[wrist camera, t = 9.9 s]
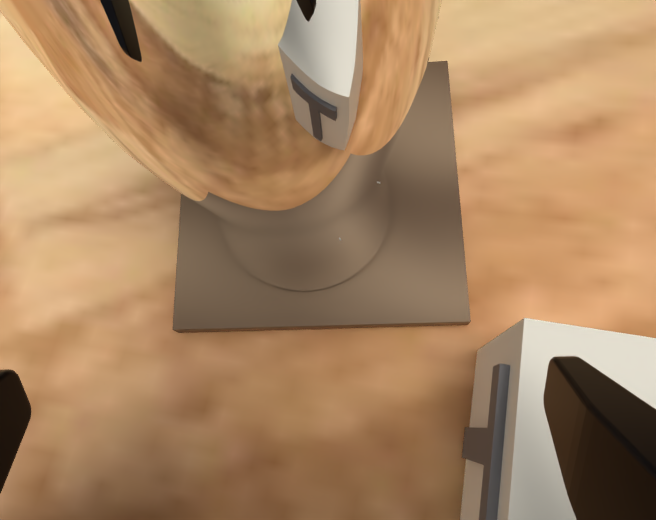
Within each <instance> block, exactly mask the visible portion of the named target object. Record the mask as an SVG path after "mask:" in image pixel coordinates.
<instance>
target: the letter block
mask: <svg viewBox="0 0 656 520" xmlns="http://www.w3.org/2000/svg"><path fill="white" fill-rule="evenodd" d="M555 356H577V357H579V358H581V359H583V360H584V361H586V362H587V363H589V364H590V365H592V366H593V367H595V368H596V369H597V370H599V371H600V372H602V373H603V374H605V375H606V376H608V377H609V378H611V379H612V380H614V381H615V382H617V383H618V384H620V385H621V386H622V387H624V388H625V389H627V390H628V391H630V392H631V393H633V394H634V395H636V396H637V397H639V398H640V399H642V400H643V401H645V402H646V403H647V404H649V405H650V406H652V407H653V408H655V409H656V338H651V337H644V336H638V335H631V334H625V333H618V332H612V331H606V330H599V329H593V328H586V327H580V326H573V325H567V324H560V323H554V322H547V321H541V320H535V319H528V318H524V319H522V320H521V321H519V322H518V323H516V324H515V325H513V326H512V327H510V328H509V329H508V330H506V331H505V332H503V333H502V334H500V335H499V336H497V337H496V338H494V339H493V340H492V341H490V342H489V343H487V344H486V345H484V346H483V347H481V348H480V349H478V350H477V357H476V367H475V377H474V387H473V397H472V406H471V416H470V426H469V427H465V433H464V442H463V452H462V458H465V459H466V465H465V475H464V485H463V494H462V504H461V514H460V520H577V519H576V517H575V514H574V512H573V509H572V506H571V503H570V501H569V498H568V495H567V491H566V488H565V485H564V481H563V477H562V473H561V470H560V466H559V462H558V458H557V455H556V451H555V447H554V443H553V440H552V436H551V432H550V428H549V425H548V421H547V417H546V413H545V409H544V401H543V397H544V389H545V383H546V377H547V370H548V365H549V362H550V360H551V359H552V358H553V357H555Z"/></svg>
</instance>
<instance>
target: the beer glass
mask: <svg viewBox="0 0 656 520" xmlns="http://www.w3.org/2000/svg"><path fill="white" fill-rule="evenodd" d="M441 2H442V0H0V12H1V13H2V14H3V15H4V17H5V18H6V19H7V21H8V22H9V23H10V25H11V26H12V27H13V29H14V30H15V31H16V33H17V34H18V35H19V36H20V38H21V39H22V40H23V42H24V43H25V44H26V45H27V47H28V48H29V49H30V50H31V51H32V52H33V54H34V55H35V56H36V57H37V58H38V60H39V61H40V62H41V63H42V64H43V66H44V67H45V68H46V69H47V70H48V71H49V73H50V74H51V75H52V76H53V77H54V79H55V80H56V81H57V82H58V83H59V85H60V86H61V87H62V88H63V89H64V91H65V92H66V93H67V94H68V95H69V96H70V98H71V99H72V100H73V101H74V102H75V103H76V104H77V105H78V106H79V107H80V108H81V109H82V110H83V111H84V112H85V113H86V114H87V115H88V116H89V117H90V118H91V119H92V120H93V121H94V122H95V123H96V124H97V125H98V126H99V127H100V128H101V129H102V130H103V131H104V132H105V133H106V134H107V135H108V136H109V137H110V138H111V139H112V140H113V141H114V142H115V143H116V144H117V145H118V146H119V147H120V148H121V149H122V150H123V151H124V152H126V153H127V154H128V155H129V156H131V157H132V158H133V159H135V160H136V161H137V162H138V163H140V164H141V165H142V166H144V167H145V168H146V169H148V170H149V171H150V172H151V173H153V174H154V175H155V176H157V177H158V178H159V179H161V180H162V181H163V182H165V183H166V184H167V185H169V186H170V187H172V188H174V189H175V190H177V191H178V192H180V193H181V194H183V195H185V196H186V197H188V198H189V199H191V200H192V201H194V202H196V203H197V204H199V205H200V206H202V207H204V208H205V209H207V210H209V211H210V212H212V213H214V214H215V215H217V216H218V220H219V224H220V228H221V231H222V234H223V237H224V240H225V242H226V244H227V246H228V248H229V250H230V251H231V253H232V255H233V256H234V257H235V259H236V260H237V261H238V263H239V264H240V265H241V266H242V267H243V268H244V269H245V270H246V271H248V272H249V273H250V274H252V275H253V276H254V277H256V278H257V279H259V280H261V281H263V282H265V283H267V284H270V285H272V286H275V287H278V288H282V289H287V290H294V291H312V290H319V289H324V288H328V287H331V286H334V285H337V284H339V283H341V282H344V281H345V280H347V279H349V278H351V277H352V276H354V275H355V274H357V273H358V272H359V271H361V270H362V269H363V268H364V267H365V266H366V265H367V264H368V263H369V262H370V261H371V260H372V259H373V257H374V256H375V255H376V254H377V252H378V251H379V249H380V247H381V246H382V244H383V242H384V240H385V238H386V235H387V233H388V229H389V226H390V221H391V212H392V205H391V195H390V189H389V184H388V181H387V178H386V174H385V172H384V169H383V168H384V166H385V164H386V162H387V160H388V158H389V156H390V154H391V152H392V150H393V148H394V146H395V144H396V142H397V140H398V138H399V136H400V133H401V131H402V129H403V127H404V125H405V123H406V121H407V118H408V116H409V114H410V111H411V108H412V106H413V103H414V100H415V97H416V95H417V92H418V89H419V86H420V84H421V81H422V78H423V75H424V73H425V70H426V67H427V64H428V61H429V57H430V53H431V48H432V43H433V39H434V34H435V30H436V25H437V21H438V16H439V11H440V7H441Z"/></svg>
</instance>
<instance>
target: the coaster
mask: <svg viewBox="0 0 656 520" xmlns="http://www.w3.org/2000/svg"><path fill="white" fill-rule="evenodd" d="M383 169H384V172H385V174H386V178H387V181H388V184H389V189H390V195H391V205H392V212H391V221H390V226H389V229H388V233H387V235H386V238H385V240H384V242H383V244H382V246H381V247H380V249H379V251H378V252H377V254H376V255H375V256H374V257H373V259H372V260H371V261H370V262H369V263H368V264H367V265H366V266H365V267H364V268H363V269H362V270H361V271H359V272H358V273H357V274H355V275H354V276H352V277H351V278H349V279H347V280H345V281H344V282H341V283H339V284H337V285H334V286H331V287H328V288H324V289H319V290H312V291H294V290H287V289H282V288H278V287H275V286H272V285H270V284H267V283H265V282H263V281H261V280H259V279H257V278H256V277H254V276H253V275H252V274H250V273H249V272H248V271H246V270H245V269H244V268H243V267H242V266H241V265H240V264H239V263H238V261H237V260H236V259H235V257H234V256H233V255H232V253H231V251H230V250H229V248H228V246H227V244H226V242H225V240H224V237H223V234H222V231H221V228H220V224H219V220H218V216H217V215H215V214H214V213H212V212H210V211H209V210H207V209H205V208H204V207H202V206H200V205H199V204H197V203H196V202H194V201H192V200H191V199H189V198H188V197H186V196H185V195H183V194H181V207H180V223H179V238H178V254H177V269H176V285H175V300H174V316H173V330H174V331H176V332H214V331H251V330H288V329H325V328H362V327H399V326H436V325H468V324H469V323H470V322H471V320H470V309H469V298H468V287H467V275H466V264H465V253H464V242H463V231H462V219H461V208H460V197H459V186H458V175H457V163H456V152H455V141H454V130H453V119H452V107H451V96H450V85H449V74H448V63H447V61H438V62H428V64H427V67H426V70H425V73H424V75H423V78H422V81H421V84H420V86H419V89H418V92H417V95H416V97H415V100H414V103H413V106H412V108H411V111H410V114H409V116H408V118H407V121H406V123H405V125H404V127H403V129H402V131H401V133H400V136H399V138H398V140H397V142H396V144H395V146H394V148H393V150H392V152H391V154H390V156H389V158H388V160H387V162H386V164H385V166H384V168H383Z"/></svg>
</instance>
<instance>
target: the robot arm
mask: <svg viewBox="0 0 656 520" xmlns="http://www.w3.org/2000/svg"><path fill="white" fill-rule="evenodd" d="M543 401H544V409H545V413H546V417H547V421H548V425H549V428H550V432H551V436H552V440H553V443H554V447H555V451H556V455H557V458H558V462H559V466H560V470H561V473H562V477H563V481H564V485H565V488H566V491H567V495H568V498H569V501H570V503H571V506H572V509H573V512H574V514H575V517H576V519H577V520H656V409H655V408H653V407H652V406H650V405H649V404H647V403H646V402H645V401H643V400H642V399H640V398H639V397H637V396H636V395H634V394H633V393H631V392H630V391H628V390H627V389H625V388H624V387H622V386H621V385H620V384H618V383H617V382H615V381H614V380H612V379H611V378H609V377H608V376H606V375H605V374H603V373H602V372H600V371H599V370H597V369H596V368H595V367H593V366H592V365H590V364H589V363H587V362H586V361H584V360H583V359H581V358H579V357H577V356H555V357H553V358H552V359H551V360H550V362H549V365H548V370H547V377H546V383H545V389H544V397H543ZM30 417H31V406H30V403H29V400H28V398H27V395H26V393H25V390H24V388H23V385H22V383H21V381H20V378H19V376H18V374H17V373H16V372H15V371H13V370H0V493H1V491H2V488H3V486H4V483H5V481H6V478H7V476H8V473H9V471H10V468H11V466H12V463H13V461H14V458H15V456H16V453H17V451H18V448H19V446H20V443H21V441H22V438H23V436H24V433H25V431H26V428H27V426H28V423H29V421H30Z"/></svg>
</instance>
